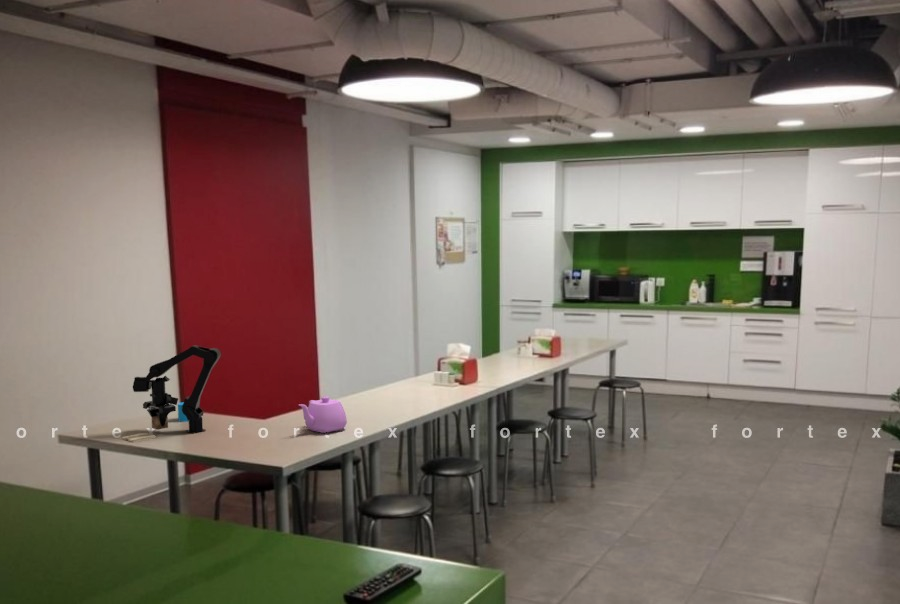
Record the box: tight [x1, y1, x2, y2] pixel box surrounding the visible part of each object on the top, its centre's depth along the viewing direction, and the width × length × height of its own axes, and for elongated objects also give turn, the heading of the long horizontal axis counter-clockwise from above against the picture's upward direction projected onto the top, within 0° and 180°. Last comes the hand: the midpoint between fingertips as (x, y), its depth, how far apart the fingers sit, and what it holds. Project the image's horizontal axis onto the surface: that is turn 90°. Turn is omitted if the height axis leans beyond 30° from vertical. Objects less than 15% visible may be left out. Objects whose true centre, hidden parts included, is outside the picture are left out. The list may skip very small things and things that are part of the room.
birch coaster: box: [121, 432, 156, 443], centre depth 314 cm, size 10×10×1 cm
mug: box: [177, 401, 189, 423], centre depth 351 cm, size 12×8×8 cm
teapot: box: [298, 395, 348, 434], centre depth 323 cm, size 23×21×15 cm
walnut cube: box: [151, 416, 169, 431], centre depth 323 cm, size 5×5×5 cm
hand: (159, 425), depth 323 cm, fingers closed on walnut cube, 5 cm apart
